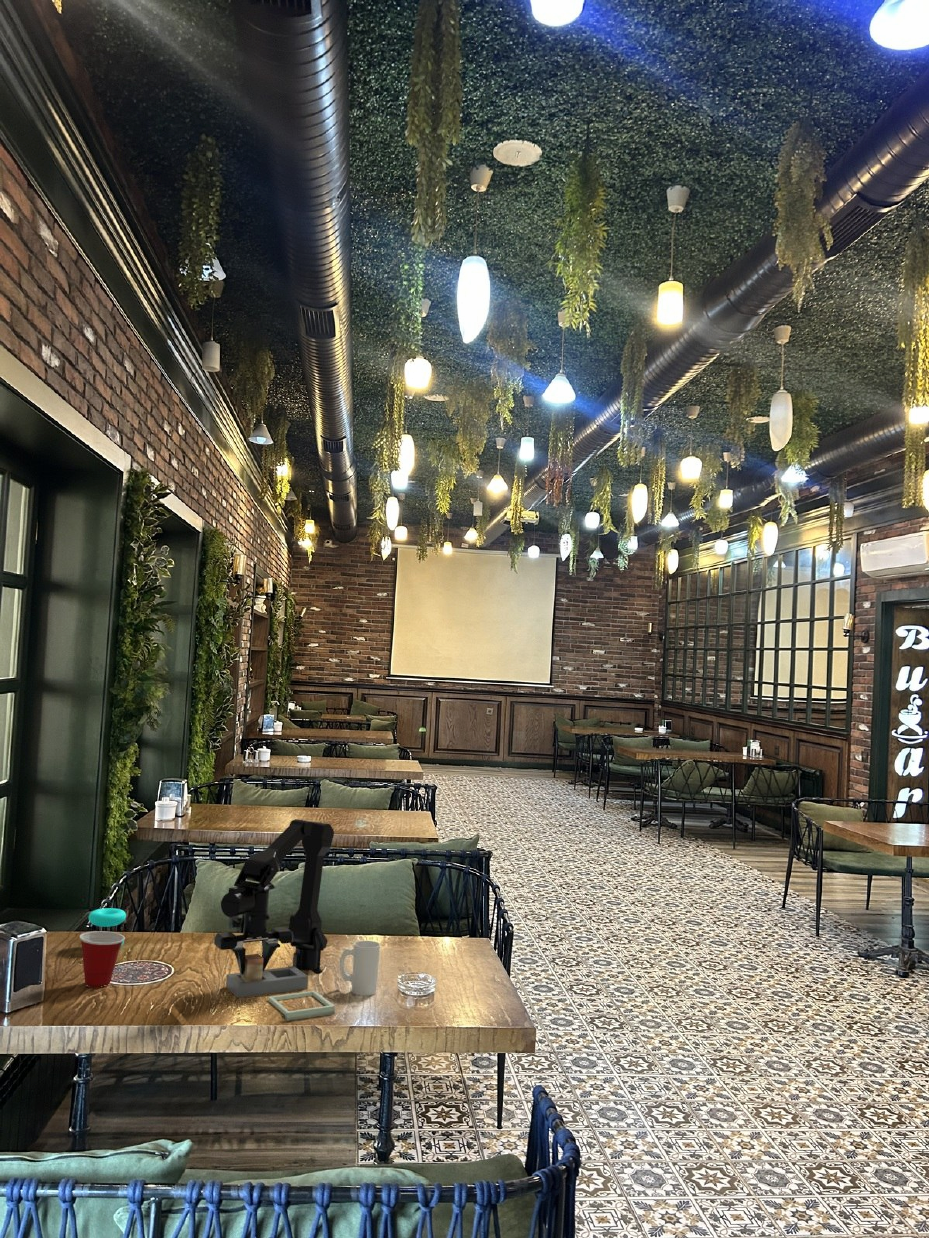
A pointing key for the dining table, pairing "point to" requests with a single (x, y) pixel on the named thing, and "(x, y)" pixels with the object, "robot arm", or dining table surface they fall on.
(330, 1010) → the tray
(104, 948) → the plastic cup
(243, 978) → the plug
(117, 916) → the donuts
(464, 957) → the dining table surface
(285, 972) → the grey cinder block
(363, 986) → the mug
